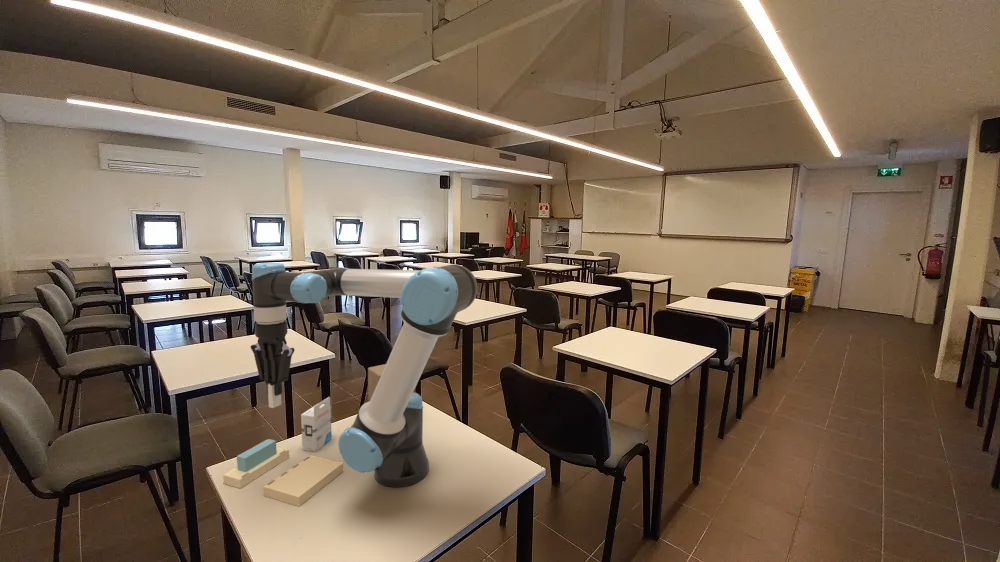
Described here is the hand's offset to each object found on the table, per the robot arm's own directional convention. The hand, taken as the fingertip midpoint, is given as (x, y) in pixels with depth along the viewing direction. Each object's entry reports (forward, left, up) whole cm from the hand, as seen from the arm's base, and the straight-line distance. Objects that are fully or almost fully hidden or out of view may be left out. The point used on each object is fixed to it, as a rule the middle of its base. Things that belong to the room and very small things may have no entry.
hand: (275, 405), depth 112 cm
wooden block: (-10, -38, -21) cm, 44 cm away
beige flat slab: (-10, 0, -20) cm, 22 cm away
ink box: (+2, -17, -21) cm, 27 cm away
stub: (+7, 0, -20) cm, 22 cm away
